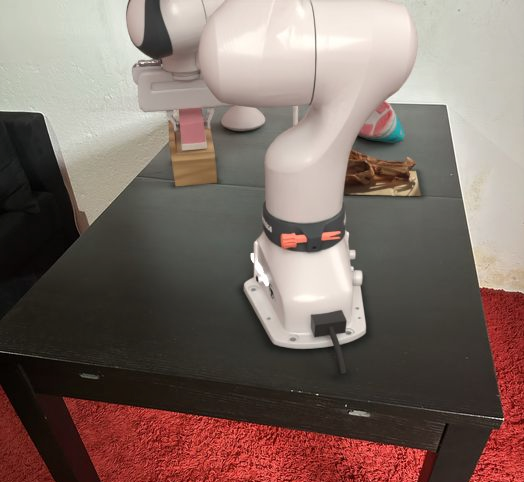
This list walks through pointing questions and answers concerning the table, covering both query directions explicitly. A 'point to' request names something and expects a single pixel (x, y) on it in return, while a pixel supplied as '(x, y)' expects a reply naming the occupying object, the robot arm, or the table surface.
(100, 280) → the table surface
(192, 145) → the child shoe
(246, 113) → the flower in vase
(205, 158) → the brown boxy piece
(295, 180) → the robot arm
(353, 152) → the driftwood on gold plate
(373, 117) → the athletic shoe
